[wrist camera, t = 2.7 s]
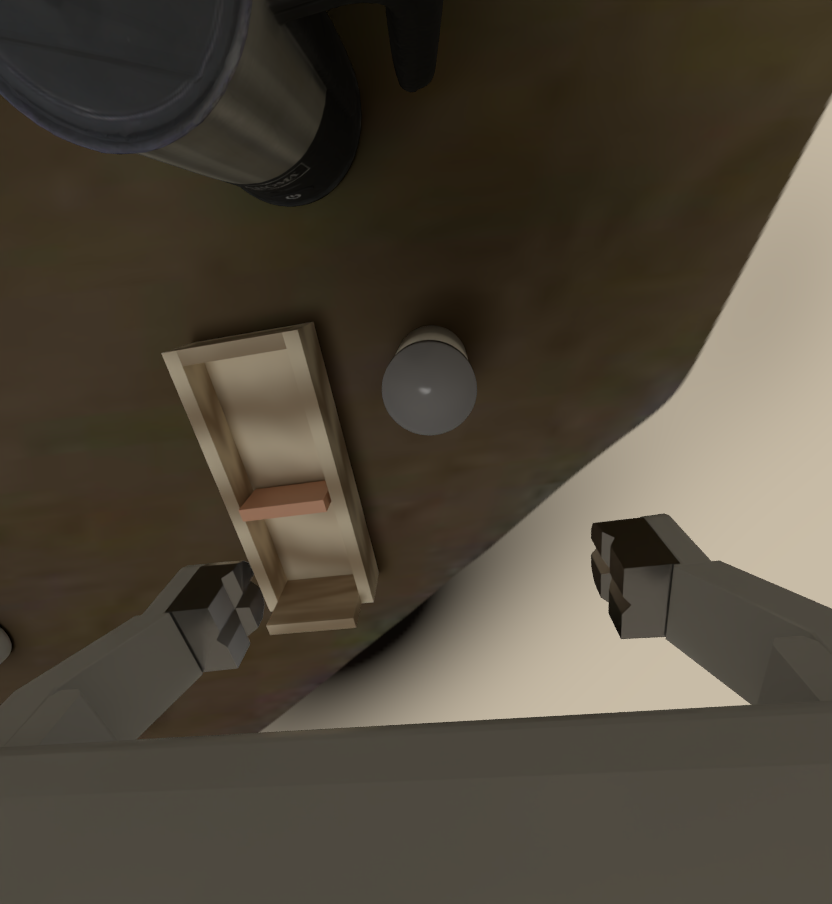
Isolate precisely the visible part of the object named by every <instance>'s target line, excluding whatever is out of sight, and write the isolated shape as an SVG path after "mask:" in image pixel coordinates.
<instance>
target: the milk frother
mask: <svg viewBox="0 0 832 904" xmlns="http://www.w3.org/2000/svg"><path fill="white" fill-rule="evenodd" d="M354 3H378V4H381V5H385V7H386V16H387V25H388V31H389V38H390V45H391V52H392V58H393V63H394V67H395V71H396V75H397V78H398V81H399V84H400V86H401V87H402V88H403V89H404V90H406V91H408V92H416V91H417V90H418V89H420V88H423V87H425V86H427V85H428V84H429V83H430V82H431V80H432V78H433V75H434V72H435V66H436V58H437V51H438V42H439V35H440V25H441V16H442V6H443V0H0V94H1V95H2V96H3V97H4V98H5V99H6V100H7V101H8V102H9V103H10V104H12V105H13V106H14V107H15V108H16V109H17V110H19V111H20V112H21V113H23V114H24V115H25V116H27V117H28V118H30V119H31V120H32V121H34V122H35V123H36V124H37V125H39V126H41V127H43V128H44V129H46V130H48V131H49V132H51V133H52V134H54V135H56V136H58V137H60V138H62V139H65V140H67V141H69V142H72V143H74V144H76V145H79V146H82V147H86V148H89V149H92V150H96V151H99V152H102V153H111V154H130V153H136V154H139V155H142V156H145V157H148V158H151V159H155V160H158V161H161V162H164V163H167V164H170V165H173V166H176V167H179V168H182V169H185V170H188V171H191V172H194V173H198V174H201V175H204V176H207V177H211V178H214V179H218V180H221V181H224V182H227V183H230V184H233V185H236V186H239V187H241V188H242V189H243V190H245V191H246V192H248V193H249V194H251V195H252V196H254V197H256V198H258V199H260V200H262V201H264V202H267V203H270V204H274V205H278V206H287V207H290V206H300V205H305V204H309V203H312V202H314V201H317V200H319V199H321V198H323V197H324V196H325V195H327V194H328V193H329V192H331V191H332V190H333V189H334V188H335V187H336V186H337V185H338V184H339V182H340V181H341V180H342V179H343V177H344V176H345V175H346V173H347V172H348V170H349V168H350V166H351V163H352V161H353V159H354V157H355V153H356V150H357V146H358V143H359V137H360V131H361V117H362V116H361V103H360V95H359V88H358V83H357V80H356V77H355V74H354V71H353V68H352V65H351V63H350V60H349V58H348V56H347V53H346V50H345V48H344V46H343V44H342V42H341V40H340V38H339V36H338V33H337V31H336V30H335V28H334V25H333V23H332V21H331V20H330V18H329V16H328V14H327V12H326V10H329V9H331V8H337V7H339V6H342V5H347V4H354Z"/></svg>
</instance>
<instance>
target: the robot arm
mask: <svg viewBox="0 0 832 904" xmlns="http://www.w3.org/2000/svg"><path fill="white" fill-rule="evenodd" d="M591 539H592V541H593V542H594V545H595V546H596V549H595V551H594V552H593V553H592V555H591V567H592V573H593V578H594V582H595V585H596V587H597V590H598V592H599V594H600V596H601V598H603V599H604V600H606V601H607V602H609V615H610V617H611V619H612V621H613V623H614V625H615V627H616V630H617V632H618V634H619V636H620V638H621V639H628V638H629V639H630V638H650V637H666V639H667V640H668V641H669V642H670V643H672V644H673V645H674V646H676V647H677V648H678V649H680V650H681V651H682V652H683V653H685V654H686V655H687V656H689V657H690V658H691V659H693V660H694V661H695V662H697V663H698V664H699V665H701V666H702V667H703V668H704V669H706V670H707V671H708V672H710V673H711V674H712V675H713V676H715V677H716V678H717V679H719V680H720V681H721V682H723V683H724V684H725V685H727V686H728V687H729V688H730V689H732V690H733V691H734V692H736V693H737V694H738V695H739V696H741V697H742V698H743V699H745V700H746V701H747V702H749V703H750V704H751V705H742V706H724V707H706V708H689V709H672V710H654V711H636V712H618V713H601V714H582V715H565V716H548V717H531V718H513V719H495V720H494V719H493V720H476V721H458V722H442V723H422V724H405V725H388V726H371V727H352V728H334V729H317V730H301V731H281V732H264V733H246V734H229V735H211V736H193V737H176V738H158V739H140V740H136V739H137V738H138V737H139V736H140V735H141V734H142V733H143V732H144V731H145V730H146V729H147V728H148V727H149V726H150V725H151V724H152V723H153V722H154V721H155V720H156V719H157V718H158V717H159V716H161V715H162V714H163V713H164V712H165V711H166V710H167V709H168V708H169V707H170V706H171V705H172V704H173V703H174V702H175V701H176V700H177V699H178V698H179V697H180V696H181V695H182V694H183V693H184V692H185V691H186V690H187V689H188V688H189V687H190V686H191V685H192V684H193V683H194V682H195V681H196V680H197V679H198V678H199V677H200V676H201V675H202V674H203V673H202V672H207V671H217V670H226V669H235V668H238V667H239V665H240V663H241V661H242V659H243V657H244V655H245V653H246V651H247V649H248V647H249V645H250V641H249V638H248V635H250V634H251V633H252V632H253V631H254V630H256V629H257V628H258V626H259V624H260V622H261V620H262V618H263V612H264V599H263V594H262V592H261V589H260V587H258V586H257V585H256V584H254V583H253V582H251V580H252V577H253V575H254V573H253V571H252V568H251V566H250V564H249V563H248V562H245V561H232V562H221V563H209V564H199V565H190V566H186V567H184V568H181V569H180V571H179V572H178V573H177V574H176V575H175V576H174V578H173V579H172V580H171V581H170V582H169V584H168V585H167V586H166V587H165V588H164V589H163V591H162V592H161V593H160V594H159V595H158V597H157V598H156V599H155V600H154V601H153V602H152V604H151V605H150V606H149V607H148V608H147V610H146V611H145V612H144V613H143V614H142V615H141V616H135V617H133V618H131V619H130V620H128V621H127V622H125V623H123V624H122V625H120V626H119V627H117V628H115V629H114V630H112V631H111V632H109V633H107V634H106V635H104V636H103V637H101V638H99V639H98V640H96V641H95V642H93V643H91V644H90V645H88V646H87V647H85V648H83V649H82V650H80V651H79V652H77V653H75V654H74V655H72V656H71V657H69V658H67V659H66V660H64V661H63V662H61V663H59V664H58V665H56V666H55V667H53V668H51V669H50V670H48V671H47V672H45V673H43V674H42V675H40V676H39V677H37V678H35V679H34V680H32V681H31V682H29V683H27V684H26V685H24V686H23V687H21V688H19V689H18V690H16V691H15V692H14V693H13V694H12V695H11V696H10V697H9V698H8V699H7V700H6V701H5V702H4V703H3V704H2V705H1V706H0V904H832V609H831V608H829V607H827V606H824V605H822V604H820V603H817V602H815V601H812V600H810V599H808V598H806V597H803V596H801V595H799V594H796V593H794V592H791V591H789V590H787V589H784V588H782V587H780V586H778V585H775V584H773V583H770V582H768V581H766V580H763V579H761V578H759V577H756V576H754V575H752V574H749V573H747V572H745V571H742V570H740V569H738V568H735V567H733V566H731V565H728V564H726V563H724V562H721V561H711V560H710V559H709V558H708V557H707V556H706V555H705V554H704V553H703V552H702V551H701V549H700V548H699V547H698V546H697V545H696V544H695V543H694V542H693V541H692V540H691V539H690V538H689V536H688V535H687V534H686V533H685V532H684V531H683V530H682V529H681V528H680V527H679V526H678V525H677V523H676V522H675V521H674V520H673V519H672V518H671V517H670V516H669V515H667V514H658V515H651V516H644V517H640V518H633V519H624V520H615V521H607V522H598V523H593V525H592V529H591Z"/></svg>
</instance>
